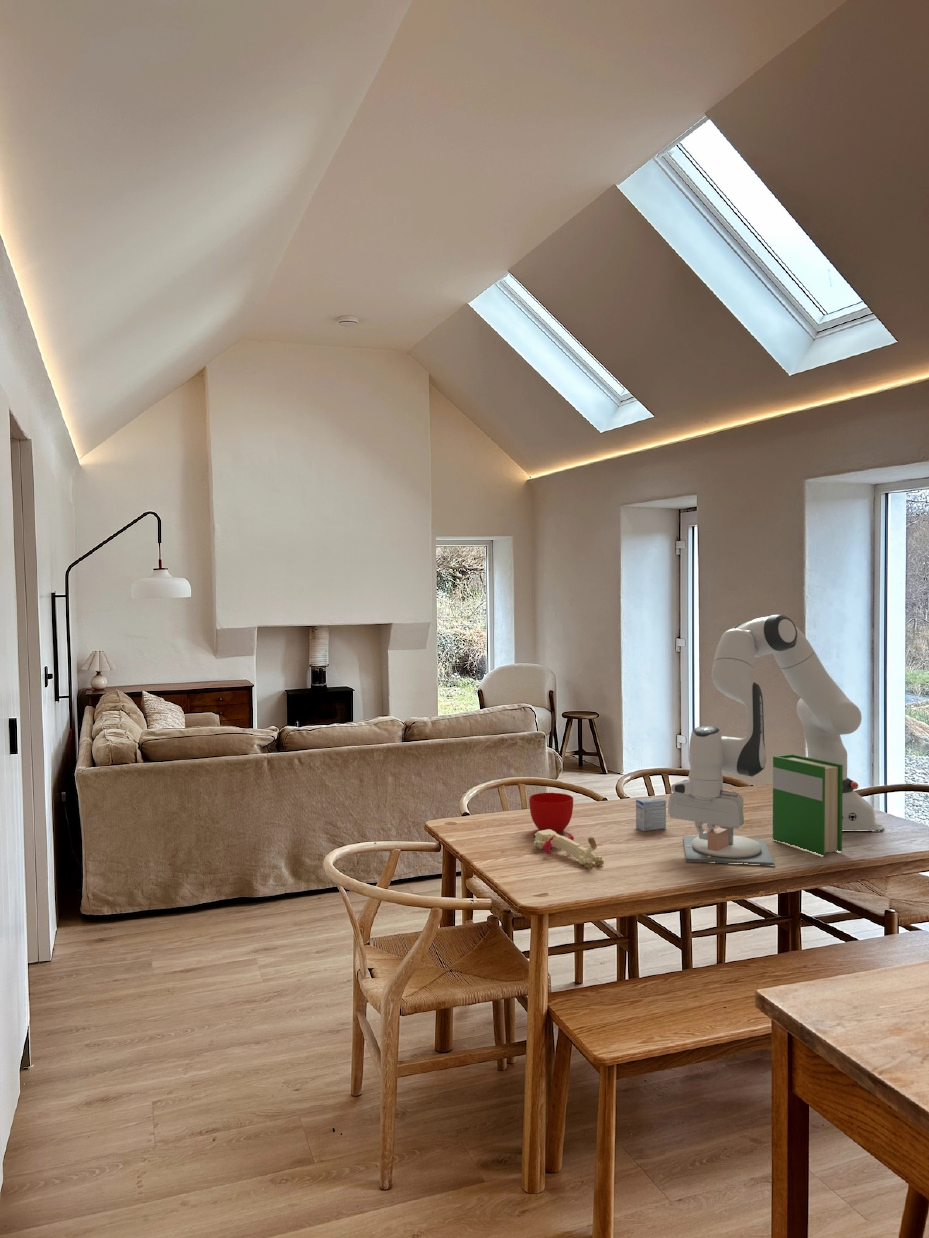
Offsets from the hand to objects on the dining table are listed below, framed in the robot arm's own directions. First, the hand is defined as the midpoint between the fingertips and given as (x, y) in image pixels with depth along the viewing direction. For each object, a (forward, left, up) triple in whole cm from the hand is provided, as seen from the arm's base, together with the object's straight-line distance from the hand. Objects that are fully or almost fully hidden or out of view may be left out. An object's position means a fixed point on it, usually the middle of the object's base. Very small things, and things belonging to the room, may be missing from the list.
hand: (705, 839), depth 245 cm
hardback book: (-28, -13, -5) cm, 31 cm away
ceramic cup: (+43, -19, -5) cm, 47 cm away
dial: (-6, -4, -3) cm, 8 cm away
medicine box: (+14, -25, -5) cm, 29 cm away
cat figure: (+37, +7, -5) cm, 38 cm away
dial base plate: (-6, -4, -4) cm, 8 cm away
